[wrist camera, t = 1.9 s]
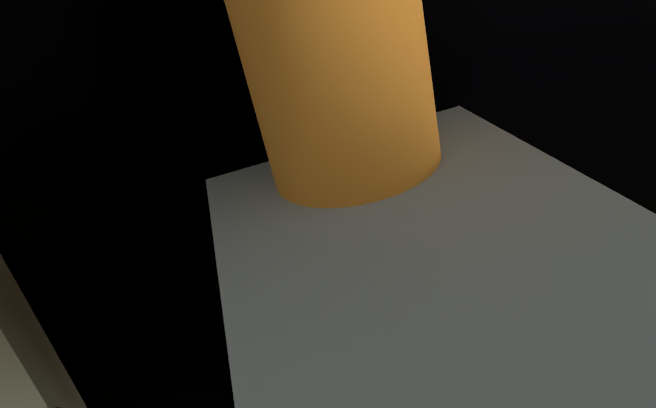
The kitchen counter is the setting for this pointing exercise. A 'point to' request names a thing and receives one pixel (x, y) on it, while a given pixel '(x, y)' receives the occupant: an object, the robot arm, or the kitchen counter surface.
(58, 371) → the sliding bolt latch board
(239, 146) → the kitchen counter surface
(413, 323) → the toy hammer
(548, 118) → the kitchen counter surface
